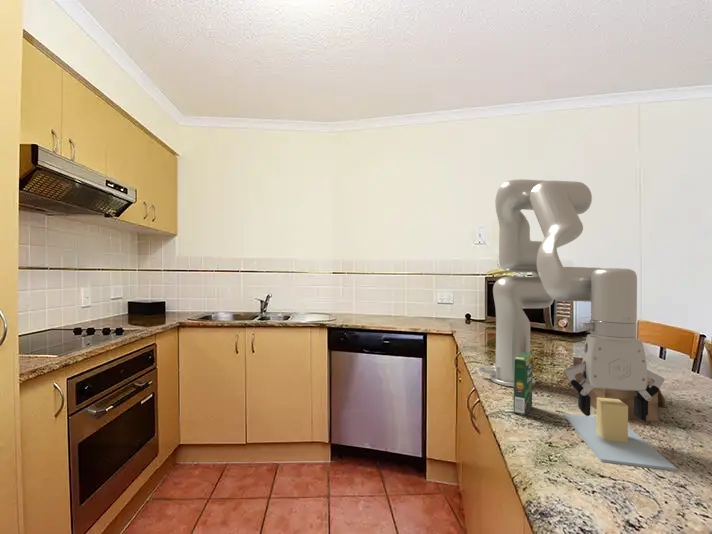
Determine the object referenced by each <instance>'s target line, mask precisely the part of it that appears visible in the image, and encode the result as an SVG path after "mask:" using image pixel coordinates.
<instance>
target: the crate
mask: <svg viewBox="0 0 712 534" xmlns="http://www.w3.org/2000/svg"><path fill="white" fill-rule="evenodd" d="M582 361H583V357H575V356H574V357H572V362H573V365H572V367H573V366H576V365H578V364H581V363H582ZM575 379H576V381H577V382H578V383H579V384H580V383H581V382H582V381H583V378H582V372H581V373H578V374H576V375H575ZM647 379H648V384H647V385H649V384H650V382H651V378H649V377H647ZM572 389H573V390H574V392H576V393H577V394H578V391H577V390H576V389H575V388H574V387H573V386H572ZM588 395H589V396H590V406H592V407H593V408H594V409H595V408H596V409H595V410H597V397H599V398H610V399H619V400H621V401H622V402H623V403H625V404H626V405H627V406H628V420H639V421H641V420H640V419H639V418H637V417H636V416H635V415H634V396H635V395H637V393H636V392H635V391H623V390H610V389H599V388H595V387H594V388H593V389H592V390H591V391H590V392H589V393H588ZM658 415H659V406H658V392H657V393H656V394H655V395H654V396H652V399H651V400H650V401H648V415H646V421H649V422H658V421H659V419H658V418H659V416H658Z"/></svg>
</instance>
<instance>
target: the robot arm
mask: <svg viewBox="0 0 712 534" xmlns="http://www.w3.org/2000/svg"><path fill="white" fill-rule="evenodd" d="M592 196H593V195H592V192H591V189H590V188H589V187H588V186H587V184H585V183H584V182H581V181H575V180H574V181H570V180H543V179H541V180H539V179H524V178H523V179H522V178H521V179H510V180H508V181H504V182H503V183H502V184H501V185H500V186H499V188H497V191H496V195H495V202H494V203H495V213H496V217H497V221H498V225H499V228H498V229H499V233H498V261H499V266H500V268H501V269H502V270H504V271H506V272H509V273H510V272H512V273H531V276H513V275H512V276H504V277H501V278H499V279H497V280H496V281H495V283H494V284H493V287H492V294H493V295H492V296H493V301H494V307H495V362H493V365H490V366H488V365H479V372H480V373H484V374H487V375H488V374H490V376H489V377H490V378H489V379H490V381H491V382H493V383H495V384H498V385H501V386H505V387H510V386H511V388H514V359H515V358H516V357H517V356H518V355H519V354H520V353H521V352H524V353H530V354H531V321H530V320H529V318H528V316H527V315H526V313H525V311H524V310H523V309H546V308H549V307H550V306H551V305H553V303H554V300H555V301H558V302H559V301H560V302H585V303H586V302H589V303H590V319H589V321H588V322H583V323H582V324H583V325H582V327H583V330H585V331H586V330H587V331H589V333H590V334H587V335H586V339H585V343H584V348H583V355H582V358H583V361H582V363H581V364H578V365H576V366H573V365H572V366H571V367H568V368H566V369H564V371H563V373H564V374H565V377H566V379H567V381H568V383H569V384H570V385H571V386H572V388H573V387H574V388H575V389H576V390H577V391H578V393H577V394H578V396H577V397H578V400H577V401H578V404H577V405H578V409H579V410H580V411H581V412H582V414H584V416H591V404H590V396H589V395H588V393H589V392H590V391H591V390H592V389H593V388H594V387H595V388H599V389H610V390H623V391H635V392H636V393H637V395H635V396H634V415H635V416H636V417H637V418H639V419H640V420H639V421H642V422H646V421H647V420H646V415H648V401H650V400H651V399H652V396H654V395H655V394H656V393H657V392H658V391H659V388H660V389H661V387H662V385H663V383H664V382H665V378H664V377H662V376H661V375H660V374H659V375H658V374H657V373H655V372H652V371H651V370H649V369H648V367H647V366H648V365H647V359H646V352H645V348H644V343H643V340H642V339H641V338H638V337H637V332H638V330H637V329H638V327H637V321H638V318H637V316H638V315H637V314H638V312H637V311H638V310H637V309H638V275H637V273H636V271H635V270H633V269H631V268H620V267H619V268H618V267H617V268H616V267H613V268H611V267H610V268H609V267H608V268H606V267H605V268H603V267H586V266H585V267H583V266H581V267H580V266H563V264H562V262H561V260H560V257H559V254H558V248H560V247H562V246H565V245H567V244H570V243H571V242H574V241H575V240H576V239H577V238H579V237H580V236H581V235H582V233H583V231H584V224H583V222H582V221H581V218H580V216H579V215H581V214H584V213H586V212H587V211H588V210H589V209H590V206H591V204H592V201H593V197H592ZM522 210H528V211H529V210H530V211H533V212H534V215H535V217H536V219H537V222H538V225H539V227H540V229H541V232H542V234H543V237H544V238H543V240H542V241H541V240H540V241H539V240H531V234H530V232H531V227H530V223H529V221H528V219H527V216H526V215H524V213H523V212H522ZM581 372H582V378H583V381H582V382H581V383H580V384H579V383H578V382H577V381H576V379H575V375H576V374H578V373H581ZM647 377H649V378H651V382H650V384H649V385H647V384H648V379H647ZM536 382H537V381H536V380H535V378H533V377H532V387H534V386H535V385H536Z"/></svg>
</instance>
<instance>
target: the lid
mask: <svg viewBox="0 0 712 534" xmlns="http://www.w3.org/2000/svg"><path fill="white" fill-rule="evenodd" d="M563 415H564V417H565V419H566V420H567V421H568V422H569V424H570V425H571V426H572V427H573V429H574V430H575V431H576V433H578V435H579V436H580V437H581V439H582V440H583V441H584V442H585V443H586V445H587V446H588V447H589V448H590V450H591V451H592V452H593V453H594V455H595V456H596V457H597V458H598V459H599V461H600V462H601V463H608V464H616V465H624V466H633V467H639V466H640V467H641V468H647V467H649V469H655V468H656V470H663V471H673V472H677V467H676V466H675V465H673V464H672V462H671V461H669V460H668V459H666V457H664V456H663V455H662V454H661V453H660V452H658V451H657V450H656V449H655V448H653V447H652V446H651V445H650V444H649V443H648V442H647V441H645V439H644V438H642V437H641V436H640V435H639V434H637V433H636V432H635V431H634V430H633V428H631V427H629V419H628V406H627V405H626V404H625V403H623V402H622V401H621V400H619V399H610V398H599V397H597V409H596V416H591V415H589V416H586V415H580V414H579V415H578V414H570V413H569V414H568V413H564V414H563Z"/></svg>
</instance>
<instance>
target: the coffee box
mask: <svg viewBox="0 0 712 534" xmlns="http://www.w3.org/2000/svg"><path fill="white" fill-rule="evenodd" d="M533 362H534V357H533V353H531V352H530V353H524V352H521V353H520V354H519V355H518V356H517V357H516V358H515V359H514V387H513V414H514V413H518V414H517V415H519V414H522V415H521V416H523V415H525V416H526V415H527V414H528V412H530V410H531V408H532V407H533V386H532V378H533Z"/></svg>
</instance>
